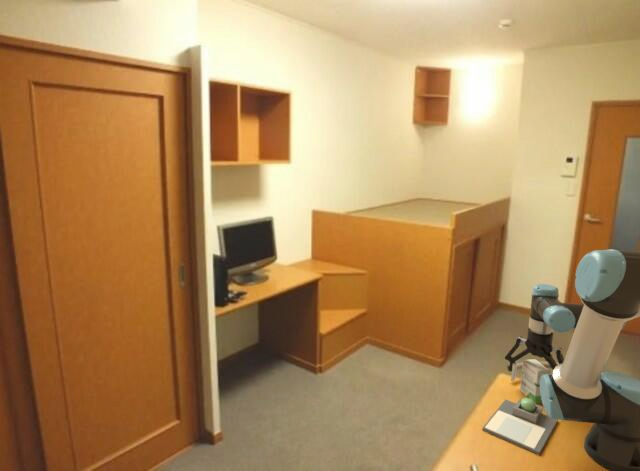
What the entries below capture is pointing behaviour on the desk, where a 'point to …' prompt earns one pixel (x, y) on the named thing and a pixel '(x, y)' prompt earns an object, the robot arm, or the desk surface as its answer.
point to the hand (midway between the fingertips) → (533, 386)
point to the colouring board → (521, 426)
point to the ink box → (532, 379)
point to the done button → (528, 405)
